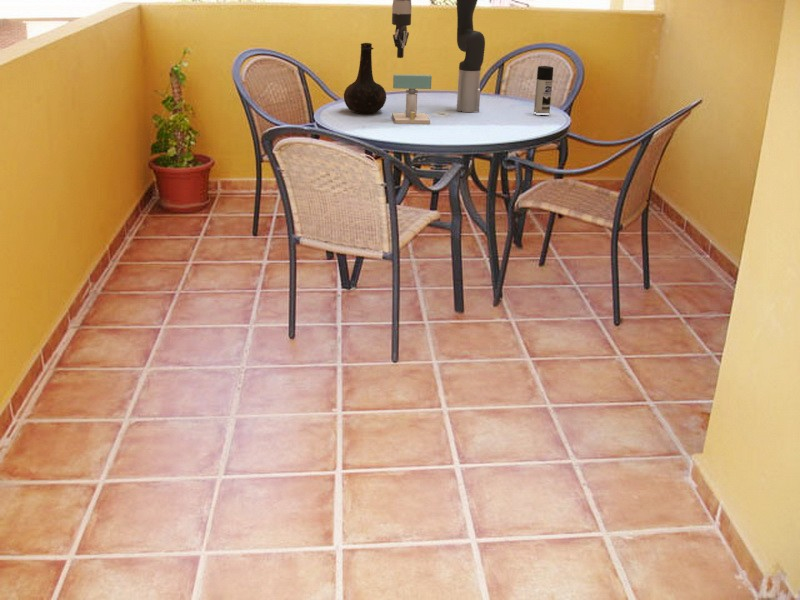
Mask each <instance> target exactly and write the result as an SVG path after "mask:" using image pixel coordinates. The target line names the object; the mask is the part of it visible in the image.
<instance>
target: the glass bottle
mask: <svg viewBox="0 0 800 600" xmlns="http://www.w3.org/2000/svg"><path fill="white" fill-rule="evenodd" d="M372 44H373V43H370V42H363V43H360V56H359V67H358V73H357V76H356V79H355V80H354V82H352V83H351V84H349V85H348V86H347V87H346V88H345V90H344V92H343V101H344V104H345V105H346V108H347V109H349V110H350V111H351V112H353V113H356V114H360V115H361V114H362V115H363V114H364V115H369V114H371V113H372V114H376V113H378V112H379V111H381V110H382V108H383V107H384V106H385V103H386V102H387V101H386V100H387V92H386V90H385V87H383V85H381V84H380V83H378V82H375V80H374V76H373V75H374V74H373V62H372V59H373V58H372V50H373V49H374V47H372Z"/></svg>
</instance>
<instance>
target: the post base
mask: <svg viewBox="0 0 800 600" xmlns="http://www.w3.org/2000/svg"><path fill="white" fill-rule="evenodd" d="M405 96H406V97H405V112H392V114H391V117H392V120H393V119H394V120H393V121H394V124H396V125H402V124H403V125H431V119H430V117H429V116H428V114H427V113H424V112H423V113H422V112H421V113H418V112H417V111H418V108H417V107H418V93H415V94H409V93H406V94H405Z"/></svg>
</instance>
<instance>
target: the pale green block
mask: <svg viewBox="0 0 800 600" xmlns="http://www.w3.org/2000/svg"><path fill="white" fill-rule="evenodd" d="M392 76H393V78H392V79H393V81H392V82H393V83H392V85H393V86H392V88H393V89H396V90H397V89H398V90H399V89H400V90H401V89H404V90H405V89H406V91H405V92H406V94H407V93H409V94H418V93H419V90H432V81H433V80H432V77H433V76H432V75H431V74H428V75H427V74H393V75H392Z"/></svg>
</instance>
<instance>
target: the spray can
mask: <svg viewBox="0 0 800 600" xmlns="http://www.w3.org/2000/svg"><path fill="white" fill-rule="evenodd" d="M553 78H554V67H553V66H549V65H540V66H538V65H537V73H536V82H535V83H536V84H535V92H534V93H535V94H534V105H533V107H534V108H533V113H534V112H536V113H549V114H550V113H551V110H550V109H551V101H552V89H553V80H554V79H553Z"/></svg>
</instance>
